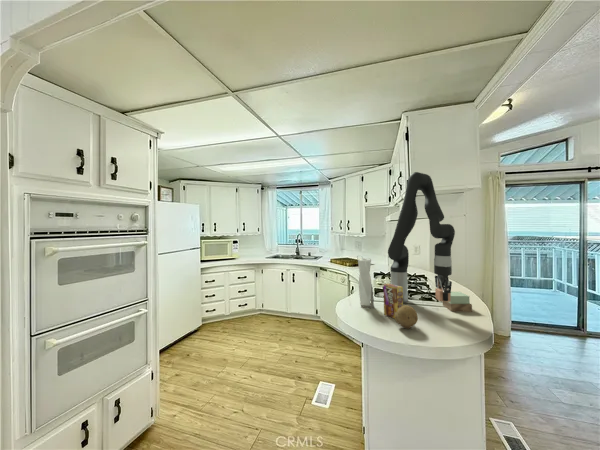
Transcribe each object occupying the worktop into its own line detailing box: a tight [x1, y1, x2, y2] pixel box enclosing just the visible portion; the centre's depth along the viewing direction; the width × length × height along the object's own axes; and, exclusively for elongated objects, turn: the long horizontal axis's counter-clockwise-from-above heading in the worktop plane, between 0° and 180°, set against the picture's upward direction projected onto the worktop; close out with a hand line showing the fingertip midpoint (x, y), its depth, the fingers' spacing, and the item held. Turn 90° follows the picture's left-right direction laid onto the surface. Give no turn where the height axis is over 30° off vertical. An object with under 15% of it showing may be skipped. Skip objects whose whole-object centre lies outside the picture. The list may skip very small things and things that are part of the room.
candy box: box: [383, 283, 404, 319], centre depth 125 cm, size 9×4×15 cm, turn 26°
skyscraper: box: [356, 255, 375, 309], centre depth 143 cm, size 8×8×28 cm
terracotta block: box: [434, 287, 451, 302], centre depth 125 cm, size 5×5×5 cm
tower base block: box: [442, 301, 473, 313], centre depth 134 cm, size 10×10×4 cm
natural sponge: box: [394, 304, 419, 330], centre depth 110 cm, size 9×9×10 cm
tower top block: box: [449, 291, 471, 304], centre depth 135 cm, size 9×9×4 cm
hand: (442, 298), depth 125 cm, fingers closed on terracotta block, 5 cm apart
